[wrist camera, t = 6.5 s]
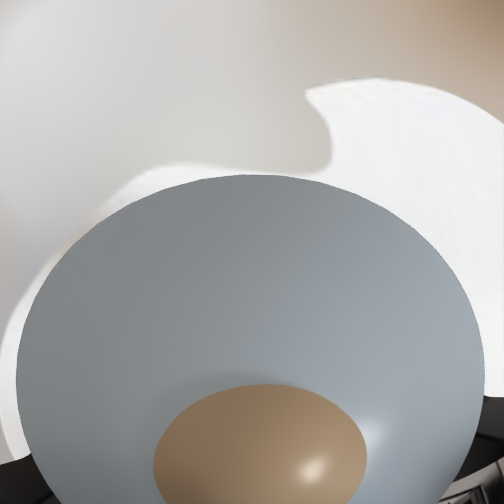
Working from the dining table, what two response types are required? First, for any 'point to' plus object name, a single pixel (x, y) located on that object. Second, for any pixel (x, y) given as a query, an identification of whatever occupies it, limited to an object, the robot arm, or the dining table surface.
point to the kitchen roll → (250, 353)
